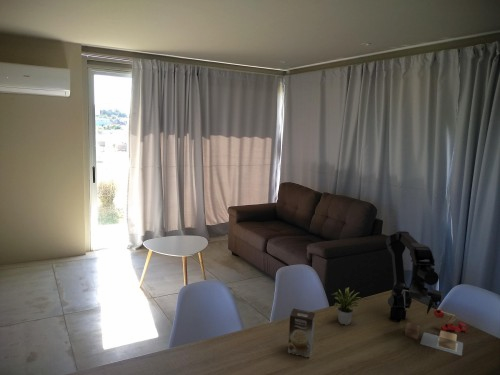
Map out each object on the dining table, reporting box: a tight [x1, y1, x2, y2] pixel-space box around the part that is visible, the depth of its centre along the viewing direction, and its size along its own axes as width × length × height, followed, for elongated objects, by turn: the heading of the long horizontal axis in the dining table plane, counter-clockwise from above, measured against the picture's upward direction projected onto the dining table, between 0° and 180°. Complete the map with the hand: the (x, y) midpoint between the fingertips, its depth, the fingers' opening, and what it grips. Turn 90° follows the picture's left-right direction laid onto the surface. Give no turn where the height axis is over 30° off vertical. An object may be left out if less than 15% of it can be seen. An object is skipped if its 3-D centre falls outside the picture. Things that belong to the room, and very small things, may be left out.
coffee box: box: [287, 308, 316, 358], centre depth 149 cm, size 9×6×16 cm
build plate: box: [419, 332, 464, 356], centre depth 157 cm, size 15×11×1 cm
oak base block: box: [438, 330, 458, 350], centre depth 156 cm, size 6×6×4 cm
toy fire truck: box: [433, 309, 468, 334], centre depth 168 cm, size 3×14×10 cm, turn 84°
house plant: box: [331, 286, 364, 326], centre depth 173 cm, size 14×14×16 cm
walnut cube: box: [404, 322, 421, 340], centre depth 163 cm, size 5×5×5 cm
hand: (415, 310), depth 162 cm, fingers open, 9 cm apart
